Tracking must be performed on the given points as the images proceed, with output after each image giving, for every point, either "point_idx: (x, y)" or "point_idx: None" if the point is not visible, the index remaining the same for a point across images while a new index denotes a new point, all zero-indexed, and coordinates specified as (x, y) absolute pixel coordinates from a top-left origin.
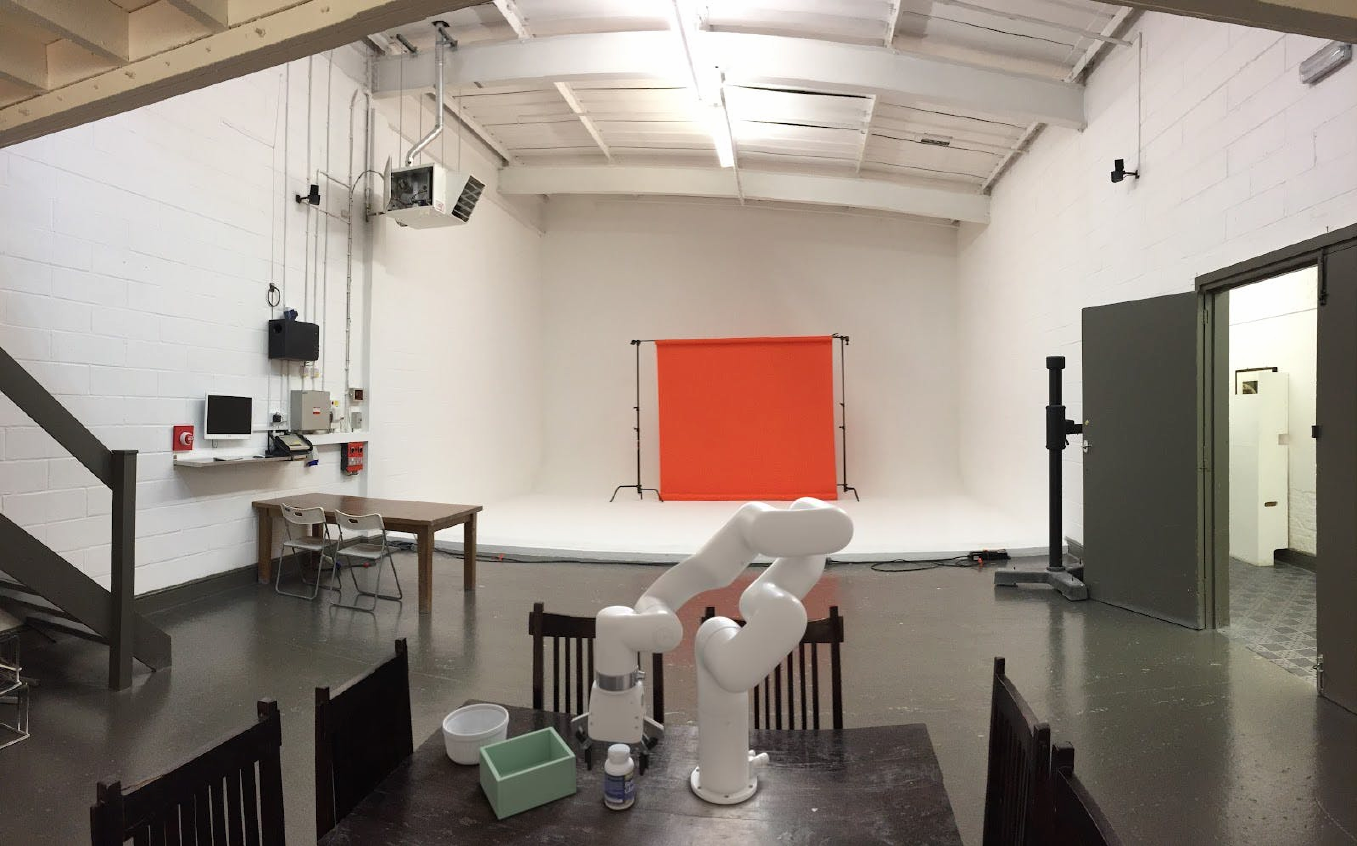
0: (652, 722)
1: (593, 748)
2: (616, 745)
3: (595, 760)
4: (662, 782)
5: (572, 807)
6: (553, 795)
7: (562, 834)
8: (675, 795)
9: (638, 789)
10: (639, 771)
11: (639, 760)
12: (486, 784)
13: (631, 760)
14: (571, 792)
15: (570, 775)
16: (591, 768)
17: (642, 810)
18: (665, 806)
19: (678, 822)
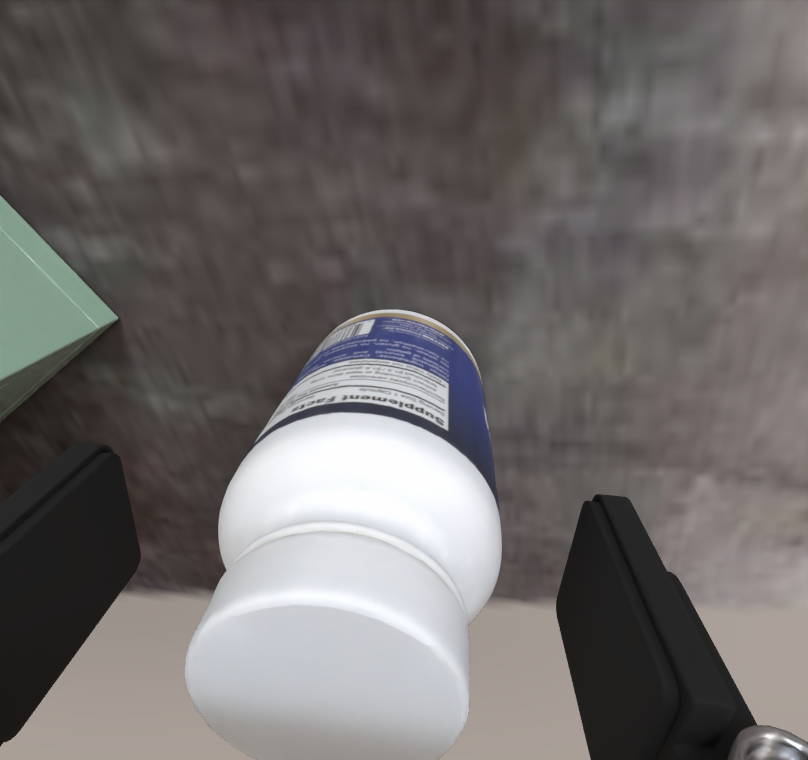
0: None
1: (2, 646)
2: (264, 632)
3: (111, 457)
4: (682, 175)
5: (161, 438)
6: (16, 403)
7: (200, 586)
8: (757, 323)
9: (500, 271)
10: (564, 634)
11: (591, 745)
12: None
13: (480, 559)
14: (95, 336)
15: (7, 387)
16: (134, 562)
17: (535, 455)
18: (672, 423)
19: (728, 533)
